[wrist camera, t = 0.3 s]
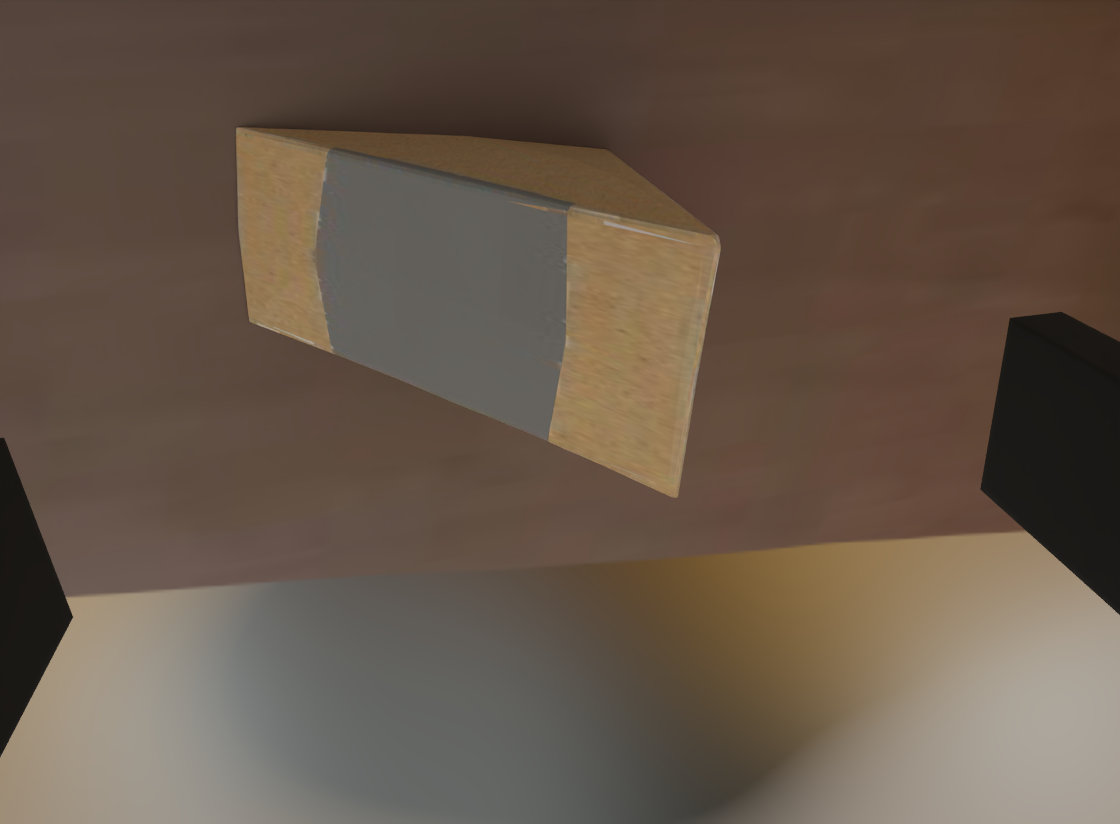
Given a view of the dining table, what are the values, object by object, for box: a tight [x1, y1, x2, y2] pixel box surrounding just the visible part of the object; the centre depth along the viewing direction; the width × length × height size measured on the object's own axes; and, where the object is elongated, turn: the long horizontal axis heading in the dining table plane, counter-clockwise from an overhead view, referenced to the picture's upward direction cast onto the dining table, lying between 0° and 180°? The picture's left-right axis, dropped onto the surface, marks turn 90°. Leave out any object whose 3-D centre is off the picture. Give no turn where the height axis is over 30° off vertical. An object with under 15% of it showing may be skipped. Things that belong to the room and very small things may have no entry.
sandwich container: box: [236, 127, 721, 498], centre depth 32 cm, size 9×15×15 cm, turn 85°
